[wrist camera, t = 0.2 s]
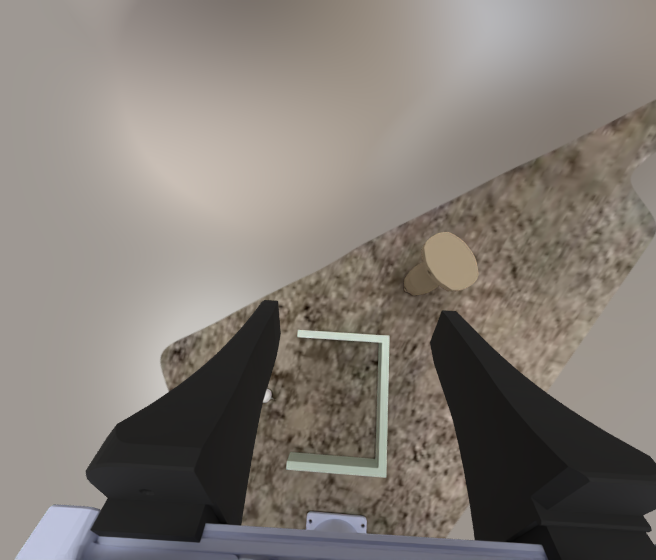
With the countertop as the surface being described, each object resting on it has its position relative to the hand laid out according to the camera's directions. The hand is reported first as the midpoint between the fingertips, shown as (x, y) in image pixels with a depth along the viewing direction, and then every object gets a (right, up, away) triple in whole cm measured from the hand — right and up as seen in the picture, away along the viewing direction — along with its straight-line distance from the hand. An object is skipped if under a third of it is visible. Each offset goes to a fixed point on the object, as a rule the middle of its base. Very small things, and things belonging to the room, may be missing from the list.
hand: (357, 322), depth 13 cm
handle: (+12, +1, +32) cm, 34 cm away
